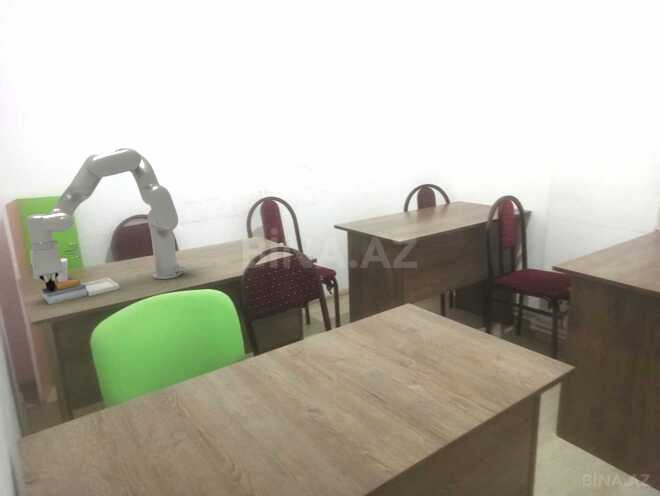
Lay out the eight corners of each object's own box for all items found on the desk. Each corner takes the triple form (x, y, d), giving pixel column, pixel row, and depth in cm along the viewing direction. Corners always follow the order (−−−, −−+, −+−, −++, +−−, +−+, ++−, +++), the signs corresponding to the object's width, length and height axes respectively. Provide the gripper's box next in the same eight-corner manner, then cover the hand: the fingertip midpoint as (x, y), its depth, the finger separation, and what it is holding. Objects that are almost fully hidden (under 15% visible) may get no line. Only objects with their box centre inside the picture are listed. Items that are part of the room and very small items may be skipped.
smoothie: (54, 284, 212) (49, 253, 209) (55, 280, 218) (49, 250, 214) (71, 281, 215) (65, 251, 212) (71, 277, 221) (65, 248, 217)
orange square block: (77, 285, 200) (75, 278, 199) (79, 287, 197) (78, 281, 196) (66, 288, 197) (65, 281, 196) (69, 290, 194) (67, 283, 193)
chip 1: (66, 288, 197) (65, 281, 196) (69, 290, 194) (67, 283, 193) (55, 290, 194) (54, 283, 194) (58, 292, 192) (56, 285, 191)
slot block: (80, 289, 204) (78, 279, 202) (87, 295, 196) (85, 285, 195) (43, 298, 195) (41, 287, 193) (49, 304, 187) (47, 293, 186)
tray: (108, 281, 213) (108, 277, 212) (119, 289, 203) (119, 284, 202) (79, 288, 205) (78, 284, 205) (89, 296, 195) (88, 291, 194)
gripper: (61, 240, 194) (69, 283, 199) (19, 247, 185) (28, 292, 190) (66, 243, 189) (74, 287, 194) (22, 251, 179) (32, 297, 184)
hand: (51, 290), depth 192 cm, fingers closed
